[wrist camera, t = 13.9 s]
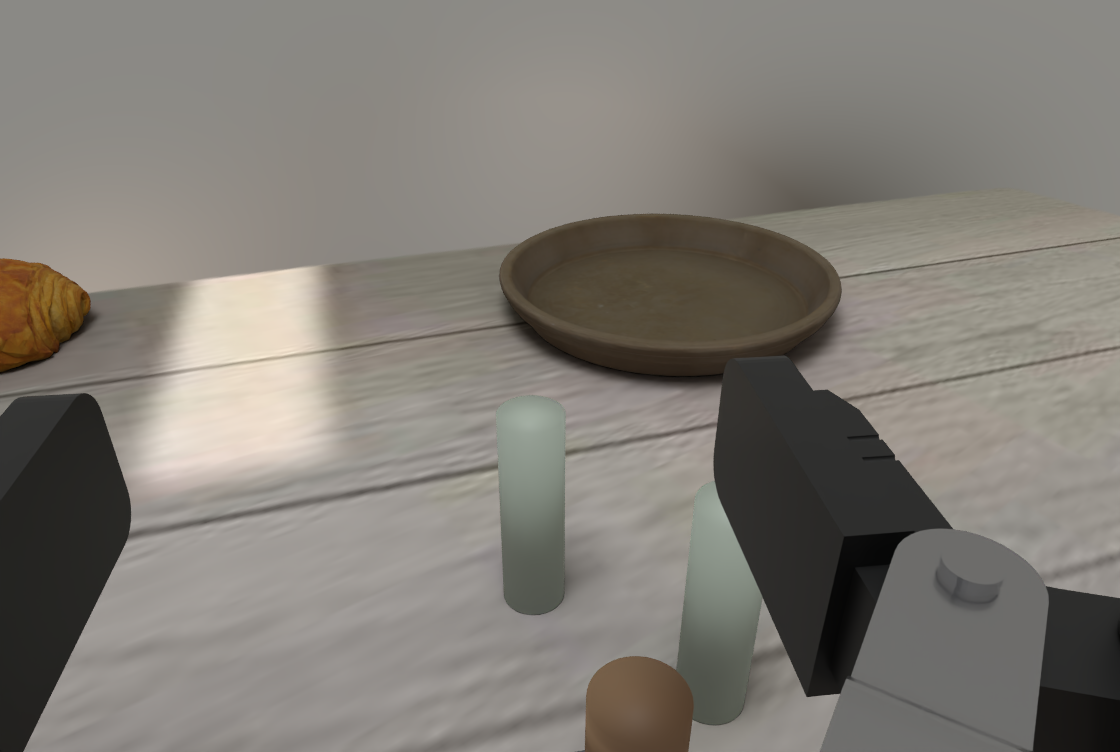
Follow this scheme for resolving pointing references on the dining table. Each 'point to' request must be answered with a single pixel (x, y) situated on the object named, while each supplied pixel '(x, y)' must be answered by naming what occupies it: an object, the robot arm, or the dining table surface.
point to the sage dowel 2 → (717, 615)
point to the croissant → (36, 311)
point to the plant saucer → (669, 291)
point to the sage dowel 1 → (532, 502)
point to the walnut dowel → (638, 708)
